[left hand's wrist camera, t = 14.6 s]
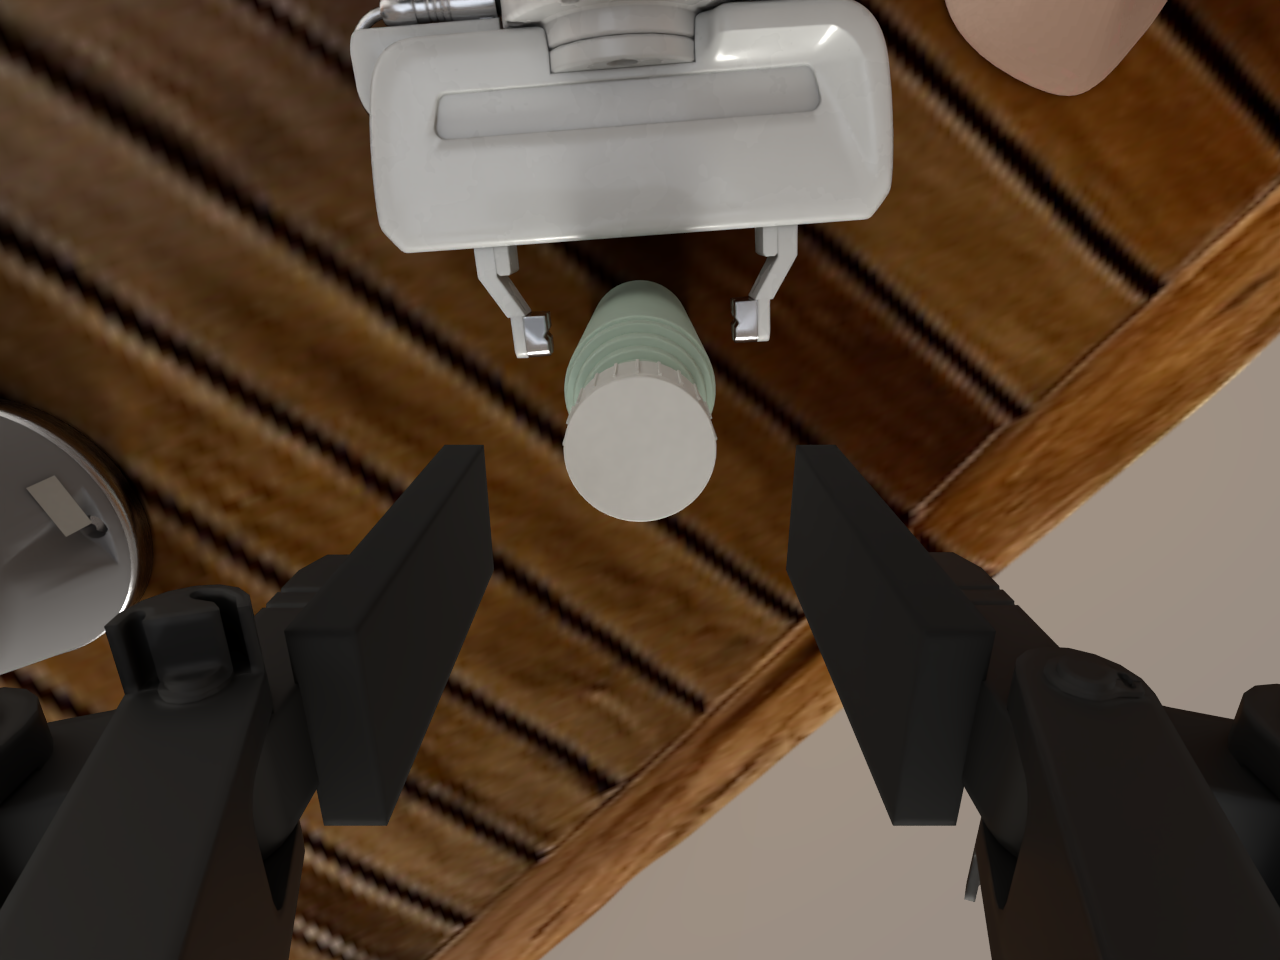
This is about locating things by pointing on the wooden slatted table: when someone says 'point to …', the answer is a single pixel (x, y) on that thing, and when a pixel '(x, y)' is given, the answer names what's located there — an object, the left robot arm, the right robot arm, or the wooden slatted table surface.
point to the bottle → (640, 339)
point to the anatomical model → (1054, 37)
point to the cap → (640, 441)
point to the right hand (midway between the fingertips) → (642, 347)
